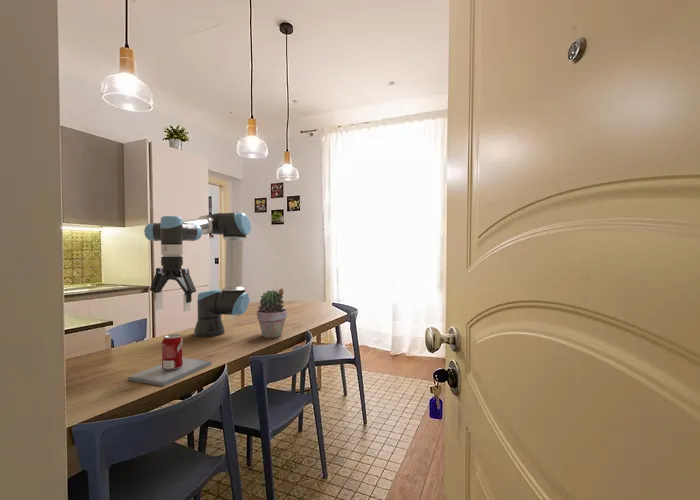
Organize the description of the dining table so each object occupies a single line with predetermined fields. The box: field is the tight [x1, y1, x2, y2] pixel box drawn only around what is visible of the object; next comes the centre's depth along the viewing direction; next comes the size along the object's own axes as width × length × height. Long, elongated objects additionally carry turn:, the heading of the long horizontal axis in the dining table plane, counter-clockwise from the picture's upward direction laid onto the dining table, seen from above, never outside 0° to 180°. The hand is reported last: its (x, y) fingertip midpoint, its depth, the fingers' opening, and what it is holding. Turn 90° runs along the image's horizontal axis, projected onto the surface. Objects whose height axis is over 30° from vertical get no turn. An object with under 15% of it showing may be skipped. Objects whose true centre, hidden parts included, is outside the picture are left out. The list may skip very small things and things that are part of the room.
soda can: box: [161, 333, 184, 371], centre depth 123 cm, size 7×7×12 cm
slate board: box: [127, 357, 212, 387], centre depth 123 cm, size 22×16×1 cm
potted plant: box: [253, 288, 288, 339], centre depth 175 cm, size 18×20×25 cm
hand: (172, 310), depth 131 cm, fingers open, 13 cm apart
